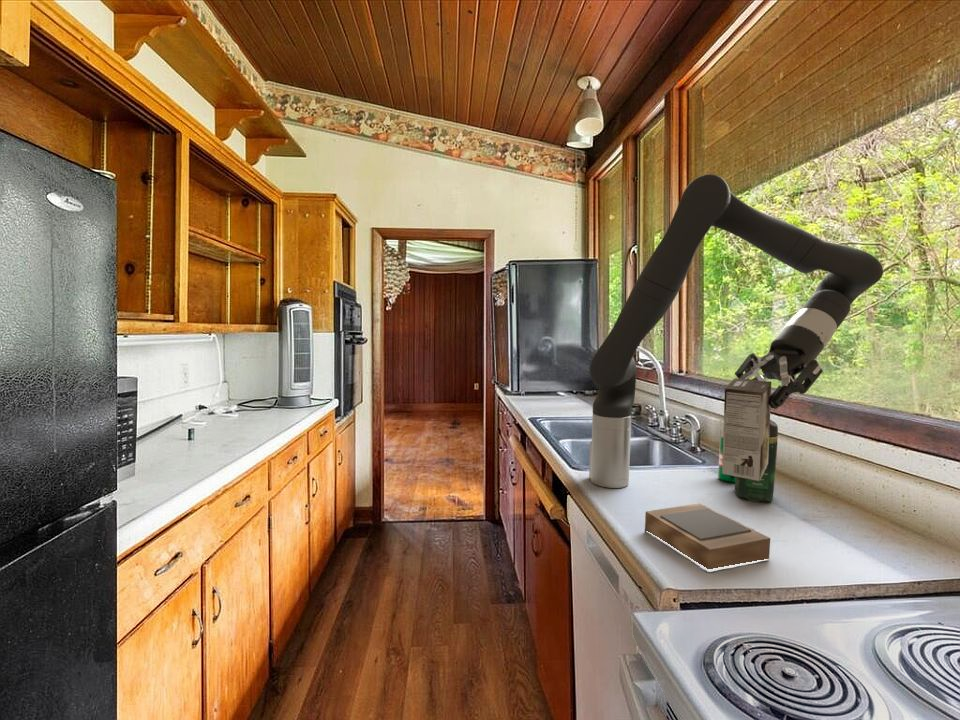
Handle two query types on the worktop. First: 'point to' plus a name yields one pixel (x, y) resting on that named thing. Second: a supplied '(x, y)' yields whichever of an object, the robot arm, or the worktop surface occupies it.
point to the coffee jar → (766, 485)
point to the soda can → (721, 476)
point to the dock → (707, 535)
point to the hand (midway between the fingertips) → (752, 401)
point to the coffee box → (746, 428)
